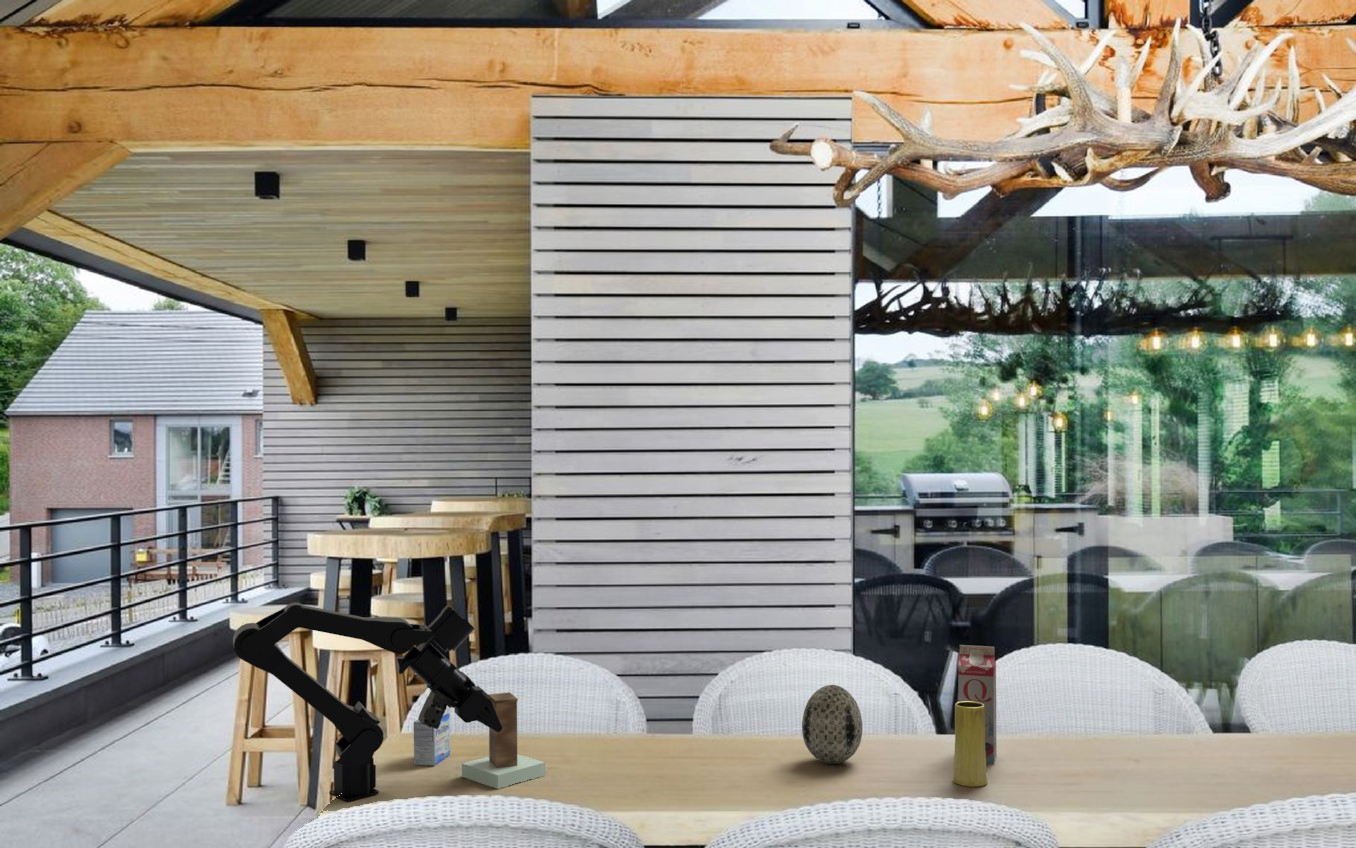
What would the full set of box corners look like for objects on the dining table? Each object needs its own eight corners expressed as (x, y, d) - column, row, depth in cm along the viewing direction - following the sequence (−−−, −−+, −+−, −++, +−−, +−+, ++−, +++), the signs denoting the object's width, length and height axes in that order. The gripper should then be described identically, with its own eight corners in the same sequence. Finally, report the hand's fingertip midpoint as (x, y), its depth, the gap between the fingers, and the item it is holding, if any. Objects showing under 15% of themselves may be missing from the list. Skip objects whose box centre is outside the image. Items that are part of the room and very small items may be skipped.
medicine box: (434, 766, 227) (434, 722, 227) (413, 765, 228) (413, 721, 228) (450, 755, 235) (450, 712, 235) (429, 754, 235) (429, 711, 235)
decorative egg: (790, 759, 230) (790, 683, 230) (839, 751, 235) (839, 676, 235) (824, 775, 220) (823, 695, 220) (875, 766, 225) (874, 688, 225)
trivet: (497, 789, 212) (497, 775, 212) (462, 776, 220) (462, 763, 220) (545, 775, 220) (544, 762, 220) (508, 764, 228) (508, 751, 228)
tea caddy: (495, 768, 217) (495, 701, 217) (488, 760, 222) (488, 694, 222) (518, 765, 218) (517, 698, 218) (510, 758, 223) (509, 692, 223)
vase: (962, 775, 219) (961, 698, 219) (993, 781, 215) (992, 703, 215) (947, 783, 214) (946, 705, 214) (978, 789, 210) (978, 710, 210)
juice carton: (994, 764, 226) (993, 650, 226) (958, 761, 228) (958, 648, 228) (996, 754, 232) (995, 643, 232) (962, 752, 234) (961, 642, 234)
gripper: (396, 693, 222) (454, 746, 226) (413, 715, 205) (475, 771, 209) (438, 649, 225) (494, 701, 229) (458, 666, 208) (518, 723, 212)
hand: (494, 724), depth 219 cm, fingers open, 9 cm apart
